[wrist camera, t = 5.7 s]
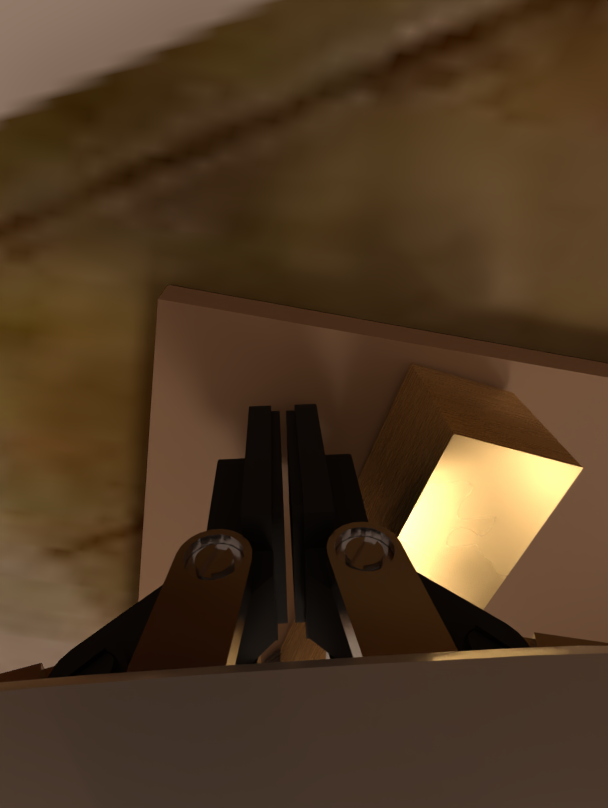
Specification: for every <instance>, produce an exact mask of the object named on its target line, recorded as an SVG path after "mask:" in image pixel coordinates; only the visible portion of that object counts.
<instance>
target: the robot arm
mask: <svg viewBox="0 0 608 808" xmlns="http://www.w3.org/2000/svg"><path fill="white" fill-rule="evenodd" d="M286 425H287V455H288V485H289V511H290V530H291V549H292V567H293V586H294V605H295V623H304V622H305V626H306V639H311V640H312V641H313V642H315V643H316V644H317V645H318V646H320V647H321V648H322V649H324V650H325V658H326V659H320V660H304V661H288V662H273V663H261V654H262V653H263V652H264V651H265V650H266V649H267V648H268V647H269V646H270V645H272V644H273V643H274V642H275V641H277V640H278V624H284V623H288V613H287V585H286V557H285V530H284V503H283V478H282V453H281V428H280V411H271V405H270V406H249V412H248V425H247V438H246V451H245V458H239V459H219V460H218V462H217V468H216V474H215V480H214V487H213V493H212V499H211V505H210V512H209V518H208V524H207V531H204V532H200V533H198V534H196V535H194V536H193V537H191V538H189V539H188V540H187V541H186V542H185V543H183V544H182V545H181V547H180V548H179V550H178V551H177V553H176V555H175V557H174V560H173V562H172V564H171V567H170V569H169V572H168V574H167V576H166V579H165V581H164V583H163V585H161V586H160V587H159V588H157V589H156V590H154V591H153V592H152V593H150V594H149V595H147V596H146V597H145V598H143V599H142V600H140V601H139V602H138V603H136V604H135V605H133V606H132V607H131V608H129V609H128V610H126V611H125V612H124V613H122V614H121V615H119V616H118V617H117V618H115V619H114V620H112V621H111V622H110V623H108V624H107V625H105V626H104V627H103V628H101V629H100V630H98V631H97V632H96V633H94V634H93V635H91V636H90V637H89V638H87V639H86V640H84V641H83V642H82V643H80V644H79V645H77V646H76V647H75V648H73V649H72V650H71V651H69V652H68V653H67V654H66V655H65V656H64V657H63V658H61V659H60V660H59V661H58V663H57V664H56V665H55V666H53V667H50V668H46V669H44V667H43V664H42V663H39V664H35V665H31V666H28V667H24V668H20V669H16V670H12V671H9V672H5V673H1V674H0V808H608V643H605V642H598V641H591V640H585V639H578V638H571V637H564V636H557V635H550V634H543V633H536V632H534V633H533V637H532V638H526V637H522V636H521V635H520V634H519V632H517V631H516V630H515V629H513V628H512V627H511V626H509V625H508V624H506V623H505V622H503V621H501V620H500V619H498V618H496V617H494V616H493V615H491V614H489V613H488V612H486V611H484V610H482V609H481V608H479V607H477V606H475V605H474V604H472V603H470V602H469V601H467V600H465V599H463V598H462V597H460V596H458V595H456V594H455V593H453V592H451V591H450V590H448V589H446V588H444V587H443V586H441V585H439V584H437V583H436V582H434V581H432V580H430V579H429V578H427V577H425V576H424V575H422V574H420V573H418V572H417V571H416V570H415V568H414V566H413V564H412V562H411V561H410V559H409V557H408V555H407V553H406V551H405V549H404V547H403V545H402V544H401V542H400V540H399V539H398V538H397V537H396V535H395V534H394V533H392V532H391V531H390V530H388V529H387V528H385V527H383V526H380V525H378V524H375V523H369V522H368V519H367V515H366V511H365V507H364V503H363V499H362V495H361V491H360V487H359V483H358V479H357V475H356V471H355V467H354V463H353V459H352V456H351V454H331V455H325V451H324V445H323V440H322V434H321V428H320V422H319V416H318V411H317V405H316V404H297V405H294V410H291V411H286Z"/></svg>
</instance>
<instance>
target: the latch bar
mask: <svg viewBox="0 0 608 808" xmlns="http://www.w3.org/2000/svg"><path fill="white" fill-rule="evenodd" d="M582 469H583V467H582V466H581V465H580V464H579V463H578V462H577V461H576V460H575V459H574V458H573V456H572V455H571V454H570V453H569V452H568V451H567V450H566V449H565V448H564V447H563V446H562V445H561V444H560V443H559V441H558V440H557V439H556V438H555V437H554V436H553V435H552V434H551V433H550V432H549V431H548V430H547V429H546V428H545V426H544V425H543V424H542V423H541V422H540V421H539V420H538V419H537V418H536V417H535V416H534V415H533V414H532V412H531V411H530V410H529V409H528V408H527V407H526V406H525V405H524V404H523V403H522V402H521V401H520V400H519V399H518V397H517V396H516V395H515V394H514V393H513V392H509V391H506V390H503V389H499V388H496V387H492V386H489V385H485V384H482V383H478V382H475V381H471V380H468V379H464V378H461V377H458V376H454V375H451V374H447V373H444V372H440V371H437V370H433V369H430V368H426V367H423V366H419V365H416V364H413V363H411V364H410V366H409V368H408V370H407V373H406V375H405V377H404V379H403V381H402V384H401V386H400V388H399V390H398V392H397V395H396V397H395V399H394V401H393V403H392V405H391V408H390V410H389V412H388V414H387V416H386V419H385V421H384V423H383V425H382V427H381V430H380V432H379V434H378V436H377V438H376V441H375V443H374V445H373V447H372V449H371V451H370V454H369V456H368V458H367V460H366V462H365V465H364V467H363V469H362V471H361V473H360V476H359V478H358V483H359V487H360V491H361V495H362V499H363V503H364V507H365V511H366V515H367V519H368V522H369V523H375V524H378V525H380V526H383V527H385V528H387V529H388V530H390V531H391V532H392V533H394V534H395V535H396V537H397V538H398V539H399V540H400V542H401V544H402V545H403V547H404V549H405V551H406V553H407V555H408V557H409V559H410V561H411V562H412V564H413V566H414V568H415V570H416V571H417V572H418V573H420V574H422V575H424V576H425V577H427V578H429V579H430V580H432V581H434V582H436V583H437V584H439V585H441V586H443V587H444V588H446V589H448V590H450V591H451V592H453V593H455V594H456V595H458V596H460V597H462V598H463V599H465V600H467V601H469V602H470V603H472V604H474V605H475V606H477V607H479V608H481V609H482V610H484V608H485V607H486V605H487V604H488V603H489V601H490V600H491V598H492V597H493V595H494V594H495V593H496V591H497V590H498V588H499V587H500V585H501V584H502V583H503V581H504V580H505V578H506V577H507V576H508V574H509V573H510V571H511V570H512V568H513V567H514V566H515V564H516V563H517V561H518V560H519V559H520V557H521V556H522V554H523V553H524V551H525V550H526V549H527V547H528V546H529V544H530V543H531V541H532V540H533V539H534V537H535V536H536V534H537V533H538V532H539V530H540V529H541V527H542V526H543V524H544V523H545V522H546V520H547V519H548V517H549V516H550V514H551V513H552V512H553V510H554V509H555V507H556V506H557V505H558V503H559V502H560V500H561V499H562V497H563V496H564V495H565V493H566V492H567V490H568V489H569V487H570V486H571V485H572V483H573V482H574V480H575V479H576V478H577V476H578V475H579V473H580V472H581V470H582ZM320 659H326V658H325V650H324V649H322V648H321V647H320V646H318V645H317V644H316V643H315V642H313V641H312V640H311V639H306V626H305V622H304V623H295V618H294V620H293V622H292V624H291V627H290V629H289V631H288V633H287V635H286V637H285V640H284V642H283V644H282V646H281V648H280V649H279V650H277V651H276V652H274V653H273V654H271V655H270V656H269V657H267V658H266V659H265V660H264V662H263V663H273V662H288V661H304V660H320Z"/></svg>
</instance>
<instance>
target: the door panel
mask: <svg viewBox="0 0 608 808" xmlns="http://www.w3.org/2000/svg"><path fill="white" fill-rule="evenodd" d="M411 363H413V364H416V365H419V366H423V367H426V368H430V369H433V370H437V371H440V372H444V373H447V374H451V375H454V376H458V377H461V378H464V379H468V380H471V381H475V382H478V383H482V384H485V385H489V386H492V387H496V388H499V389H503V390H506V391H509V392H513V393H514V394H515V395H516V396H517V397H518V399H519V400H520V401H521V402H522V403H523V404H524V405H525V406H526V407H527V408H528V409H529V410H530V411H531V412H532V414H533V415H534V416H535V417H536V418H537V419H538V420H539V421H540V422H541V423H542V424H543V425H544V426H545V428H546V429H547V430H548V431H549V432H550V433H551V434H552V435H553V436H554V437H555V438H556V439H557V440H558V441H559V443H560V444H561V445H562V446H563V447H564V448H565V449H566V450H567V451H568V452H569V453H570V454H571V455H572V456H573V458H574V459H575V460H576V461H577V462H578V463H579V464H580V465H581V466H582V467H583V469H582V470H581V472H580V473H579V475H578V476H577V478H576V479H575V480H574V482H573V483H572V485H571V486H570V487H569V489H568V490H567V492H566V493H565V495H564V496H563V497H562V499H561V500H560V502H559V503H558V505H557V506H556V507H555V509H554V510H553V512H552V513H551V514H550V516H549V517H548V519H547V520H546V522H545V523H544V524H543V526H542V527H541V529H540V530H539V532H538V533H537V534H536V536H535V537H534V539H533V540H532V541H531V543H530V544H529V546H528V547H527V549H526V550H525V551H524V553H523V554H522V556H521V557H520V559H519V560H518V561H517V563H516V564H515V566H514V567H513V568H512V570H511V571H510V573H509V574H508V576H507V577H506V578H505V580H504V581H503V583H502V584H501V585H500V587H499V588H498V590H497V591H496V593H495V594H494V595H493V597H492V598H491V600H490V601H489V603H488V604H487V605H486V607H485V608H484V611H486V612H488V613H489V614H491V615H493V616H494V617H496V618H498V619H500V620H501V621H503V622H505V623H506V624H508V625H509V626H511V627H512V628H513V629H515V630H516V631H517V632H519V634H520V635H521V636H522V637H526V638H532V637H533V633H534V632H536V633H543V634H550V635H557V636H564V637H571V638H578V639H585V640H591V641H598V642H605V643H608V363H602V362H597V361H591V360H586V359H580V358H574V357H569V356H563V355H558V354H552V353H547V352H541V351H535V350H530V349H524V348H519V347H513V346H507V345H502V344H496V343H491V342H485V341H480V340H474V339H468V338H463V337H457V336H452V335H446V334H440V333H435V332H429V331H424V330H418V329H413V328H407V327H401V326H396V325H390V324H385V323H379V322H373V321H368V320H362V319H357V318H351V317H346V316H340V315H334V314H329V313H323V312H318V311H312V310H306V309H301V308H295V307H290V306H284V305H279V304H273V303H267V302H262V301H256V300H251V299H245V298H239V297H234V296H228V295H223V294H217V293H212V292H206V291H200V290H195V289H189V288H184V287H178V286H172V285H167V287H166V288H165V290H164V291H163V293H162V294H161V295H160V297H159V298H158V306H157V321H156V337H155V352H154V367H153V383H152V398H151V414H150V429H149V445H148V460H147V476H146V491H145V507H144V522H143V537H142V553H141V568H140V584H139V599H138V602H139V601H140V600H142V599H143V598H145V597H146V596H147V595H149V594H150V593H152V592H153V591H154V590H156V589H157V588H159V587H160V586H161V585H163V583H164V581H165V579H166V576H167V574H168V572H169V569H170V567H171V564H172V562H173V560H174V557H175V555H176V553H177V551H178V550H179V548H180V547H181V545H182V544H183V543H185V542H186V541H187V540H188V539H189V538H191V537H193V536H194V535H196V534H198V533H200V532H204V531H207V524H208V518H209V512H210V505H211V499H212V493H213V487H214V480H215V474H216V468H217V462H218V460H219V459H239V458H245V451H246V438H247V425H248V412H249V406H270V405H271V411H280V428H281V453H282V478H283V503H284V530H285V557H286V585H287V613H288V623H284V624H278V640H277V641H275V642H274V643H273V644H272V645H270V646H269V647H268V648H267V649H266V650H265V651H264V652H263V653H262V654H261V663H263V662H264V660H265V659H266V658H267V657H269V656H270V655H271V654H273V653H274V652H276V651H277V650H279V649H280V648H281V646H282V644H283V642H284V640H285V637H286V635H287V633H288V631H289V629H290V627H291V624H292V622H293V620H294V618H295V605H294V586H293V567H292V549H291V530H290V511H289V485H288V455H287V425H286V411H291V410H294V405H297V404H316V405H317V411H318V416H319V422H320V428H321V434H322V440H323V445H324V451H325V455H331V454H351V456H352V459H353V463H354V467H355V471H356V475H357V479H358V478H359V476H360V473H361V471H362V469H363V467H364V465H365V462H366V460H367V458H368V456H369V454H370V451H371V449H372V447H373V445H374V443H375V441H376V438H377V436H378V434H379V432H380V430H381V427H382V425H383V423H384V421H385V419H386V416H387V414H388V412H389V410H390V408H391V405H392V403H393V401H394V399H395V397H396V395H397V392H398V390H399V388H400V386H401V384H402V381H403V379H404V377H405V375H406V373H407V370H408V368H409V366H410V364H411Z"/></svg>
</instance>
